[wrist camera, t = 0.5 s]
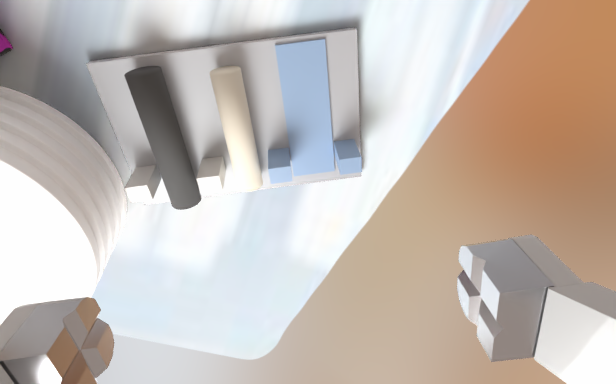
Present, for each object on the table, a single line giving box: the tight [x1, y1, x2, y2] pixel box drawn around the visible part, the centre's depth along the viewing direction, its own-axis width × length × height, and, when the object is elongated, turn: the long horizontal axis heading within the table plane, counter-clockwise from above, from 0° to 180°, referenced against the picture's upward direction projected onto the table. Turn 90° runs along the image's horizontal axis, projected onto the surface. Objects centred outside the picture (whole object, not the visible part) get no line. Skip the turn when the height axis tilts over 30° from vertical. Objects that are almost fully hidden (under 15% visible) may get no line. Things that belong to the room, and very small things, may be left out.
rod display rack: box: [86, 27, 362, 205], centre depth 44 cm, size 18×28×6 cm, turn 96°
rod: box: [209, 66, 263, 192], centre depth 44 cm, size 14×3×3 cm, turn 6°
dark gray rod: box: [124, 66, 201, 210], centre depth 44 cm, size 16×4×4 cm, turn 6°
